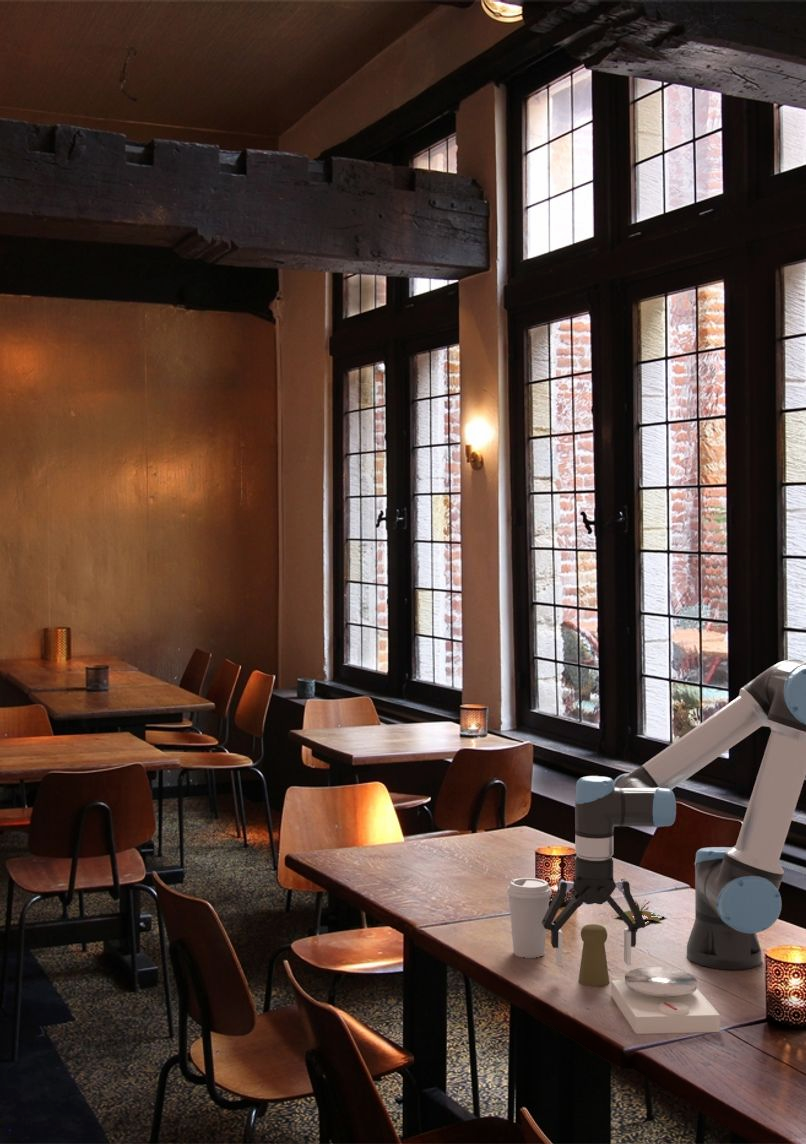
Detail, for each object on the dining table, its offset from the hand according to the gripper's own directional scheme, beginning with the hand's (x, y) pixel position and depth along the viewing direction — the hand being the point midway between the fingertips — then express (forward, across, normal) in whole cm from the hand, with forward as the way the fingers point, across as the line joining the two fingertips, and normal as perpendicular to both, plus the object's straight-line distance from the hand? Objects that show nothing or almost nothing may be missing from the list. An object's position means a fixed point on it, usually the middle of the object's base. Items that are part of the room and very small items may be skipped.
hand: (593, 963), depth 245 cm
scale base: (+3, -9, +18) cm, 20 cm away
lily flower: (+4, -20, -42) cm, 47 cm away
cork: (+4, 0, 0) cm, 4 cm away
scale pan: (-1, -9, +16) cm, 18 cm away
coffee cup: (+4, +10, -18) cm, 21 cm away
